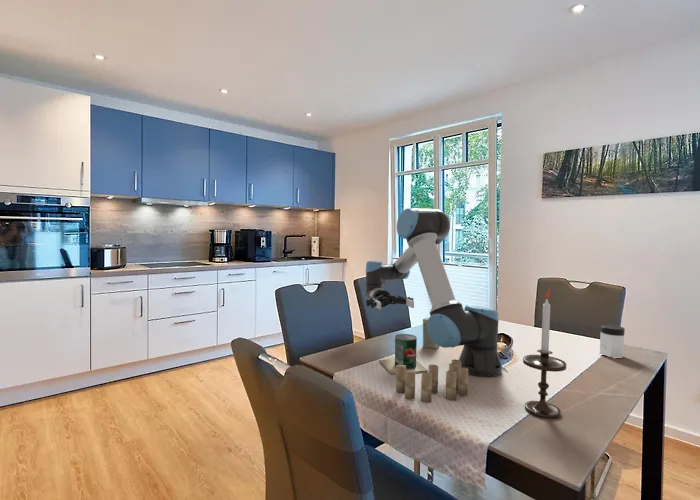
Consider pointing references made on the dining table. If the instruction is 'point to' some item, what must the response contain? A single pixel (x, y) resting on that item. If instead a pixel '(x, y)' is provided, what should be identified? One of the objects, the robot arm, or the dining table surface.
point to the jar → (612, 340)
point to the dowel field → (433, 382)
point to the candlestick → (544, 370)
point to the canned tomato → (405, 350)
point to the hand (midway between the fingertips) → (396, 305)
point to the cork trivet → (390, 367)
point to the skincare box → (427, 336)
